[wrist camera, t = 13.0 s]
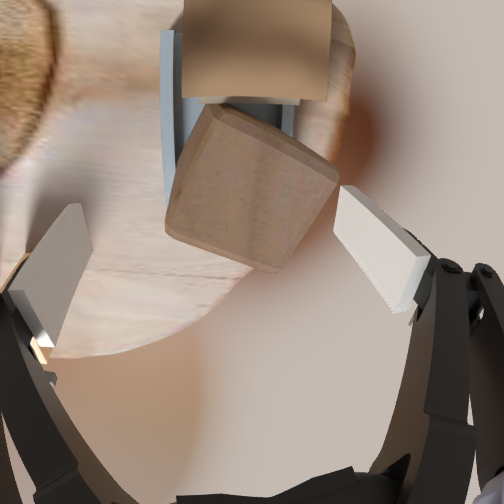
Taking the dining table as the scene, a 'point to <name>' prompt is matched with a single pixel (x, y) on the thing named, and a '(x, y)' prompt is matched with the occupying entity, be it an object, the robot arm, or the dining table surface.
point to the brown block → (256, 51)
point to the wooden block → (246, 189)
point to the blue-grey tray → (195, 108)
